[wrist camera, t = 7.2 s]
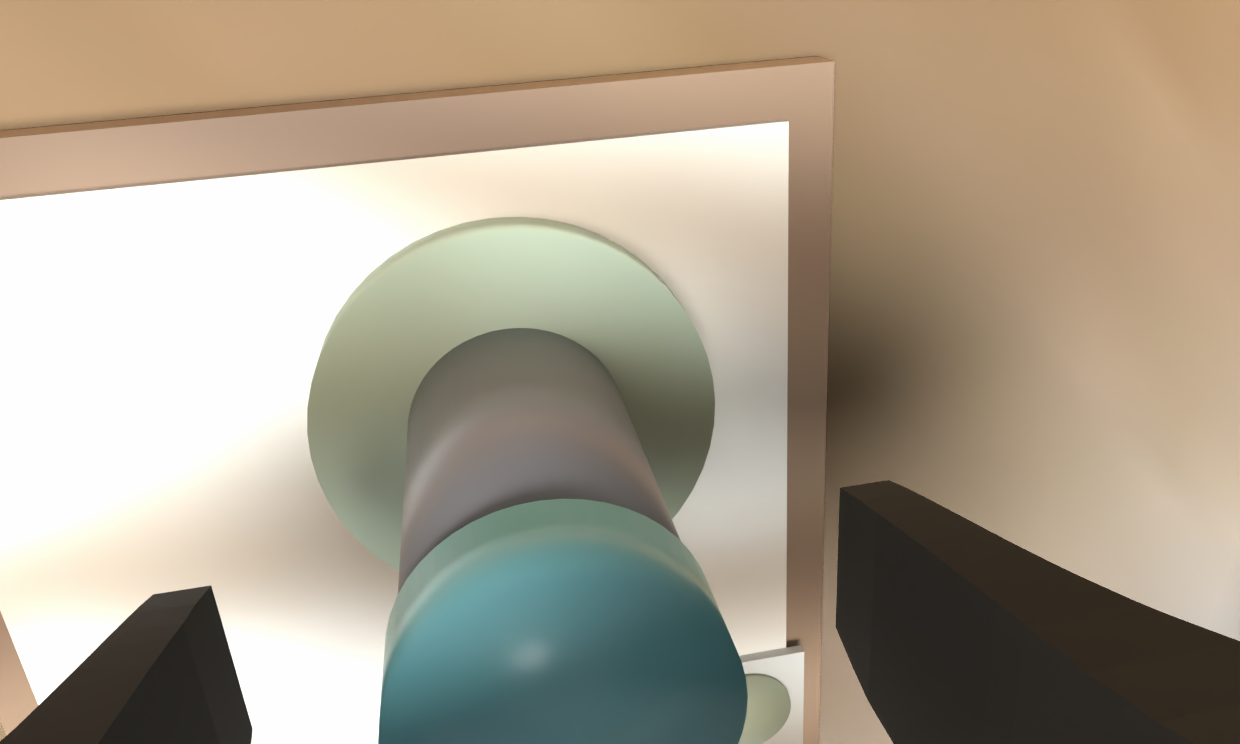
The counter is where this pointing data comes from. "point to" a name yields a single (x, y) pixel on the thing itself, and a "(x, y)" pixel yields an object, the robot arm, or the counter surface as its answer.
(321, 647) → the board
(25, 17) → the counter surface
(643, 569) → the marker
